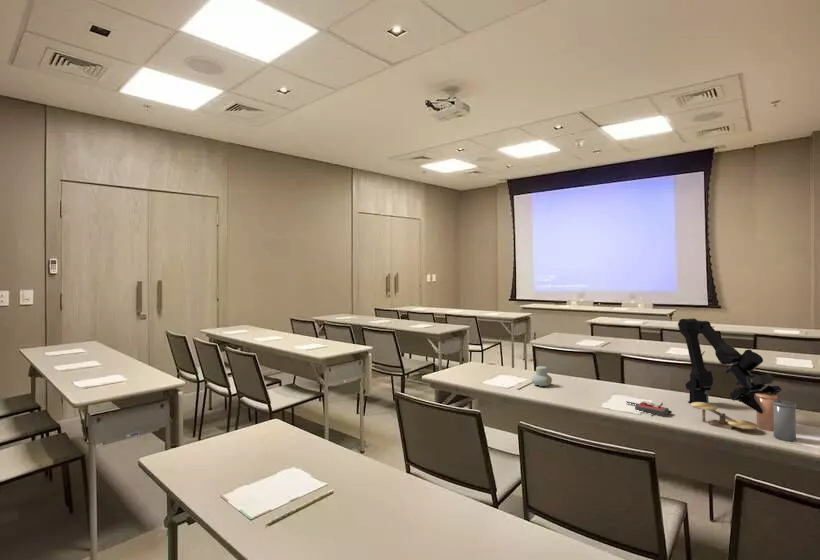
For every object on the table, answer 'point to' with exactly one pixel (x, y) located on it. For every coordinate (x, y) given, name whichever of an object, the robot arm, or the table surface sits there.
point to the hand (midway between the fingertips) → (770, 412)
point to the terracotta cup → (765, 411)
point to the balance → (722, 417)
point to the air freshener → (541, 377)
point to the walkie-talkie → (651, 408)
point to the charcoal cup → (784, 420)
